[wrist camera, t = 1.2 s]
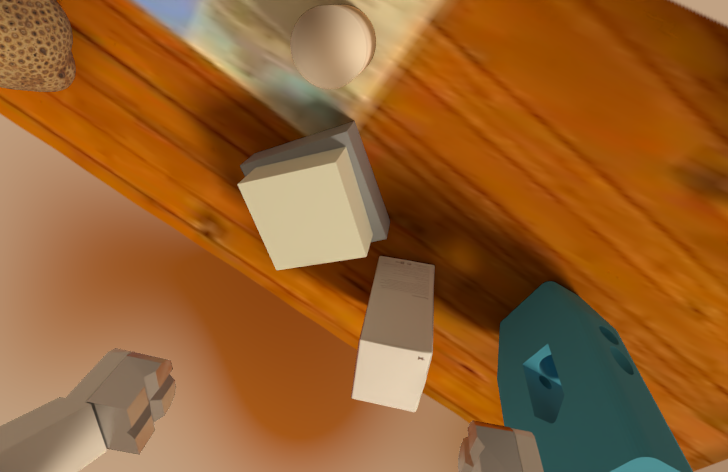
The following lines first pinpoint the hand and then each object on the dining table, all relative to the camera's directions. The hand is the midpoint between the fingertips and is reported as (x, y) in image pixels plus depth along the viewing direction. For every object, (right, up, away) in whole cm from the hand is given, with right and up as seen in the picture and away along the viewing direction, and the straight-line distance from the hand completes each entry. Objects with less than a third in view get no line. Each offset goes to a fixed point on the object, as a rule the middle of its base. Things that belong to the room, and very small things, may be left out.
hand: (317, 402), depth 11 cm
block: (+21, -4, +34) cm, 40 cm away
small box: (+6, -1, +35) cm, 36 cm away
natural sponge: (-27, +24, +27) cm, 45 cm away
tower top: (-3, +8, +27) cm, 29 cm away
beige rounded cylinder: (0, +21, +23) cm, 31 cm away
